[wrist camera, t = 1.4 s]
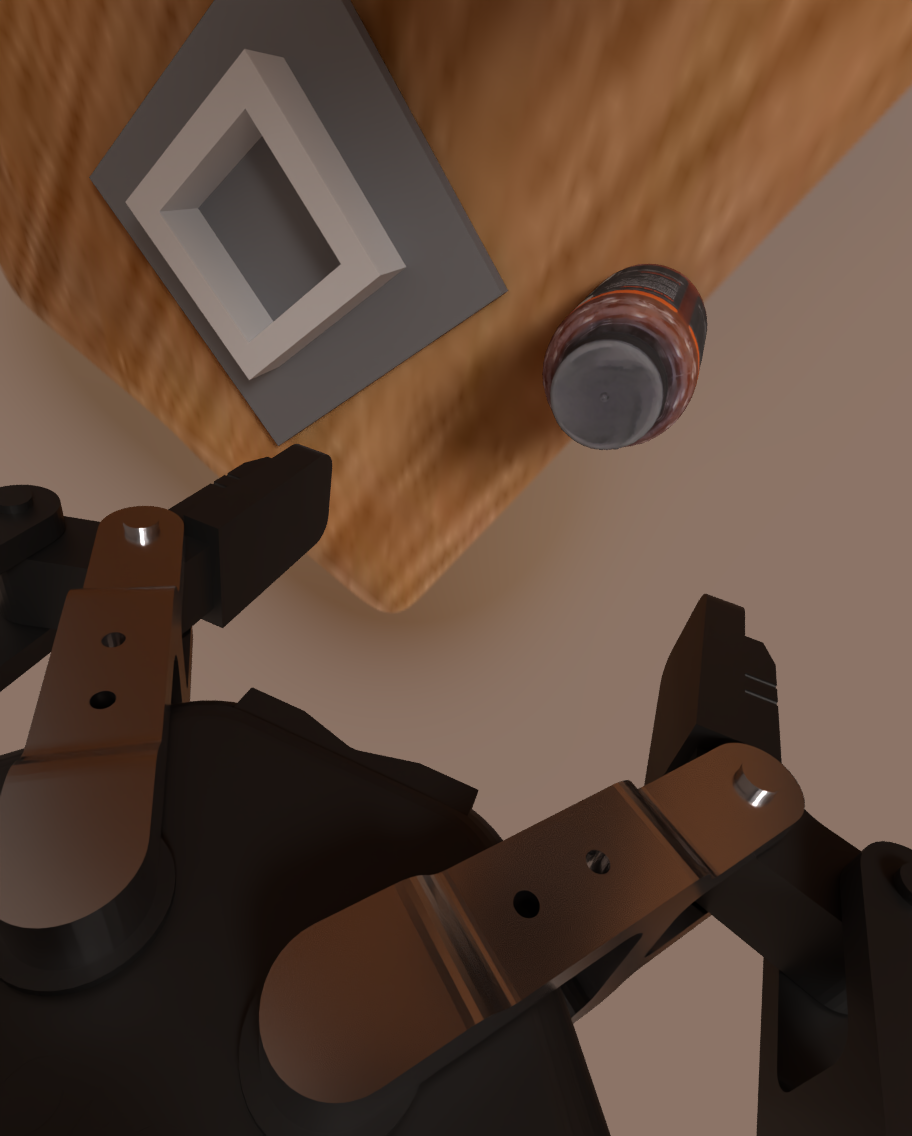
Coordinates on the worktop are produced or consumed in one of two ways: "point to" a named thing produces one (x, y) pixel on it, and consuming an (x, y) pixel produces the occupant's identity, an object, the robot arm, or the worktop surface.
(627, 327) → the supplement bottle
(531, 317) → the worktop surface
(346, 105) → the collar plate
